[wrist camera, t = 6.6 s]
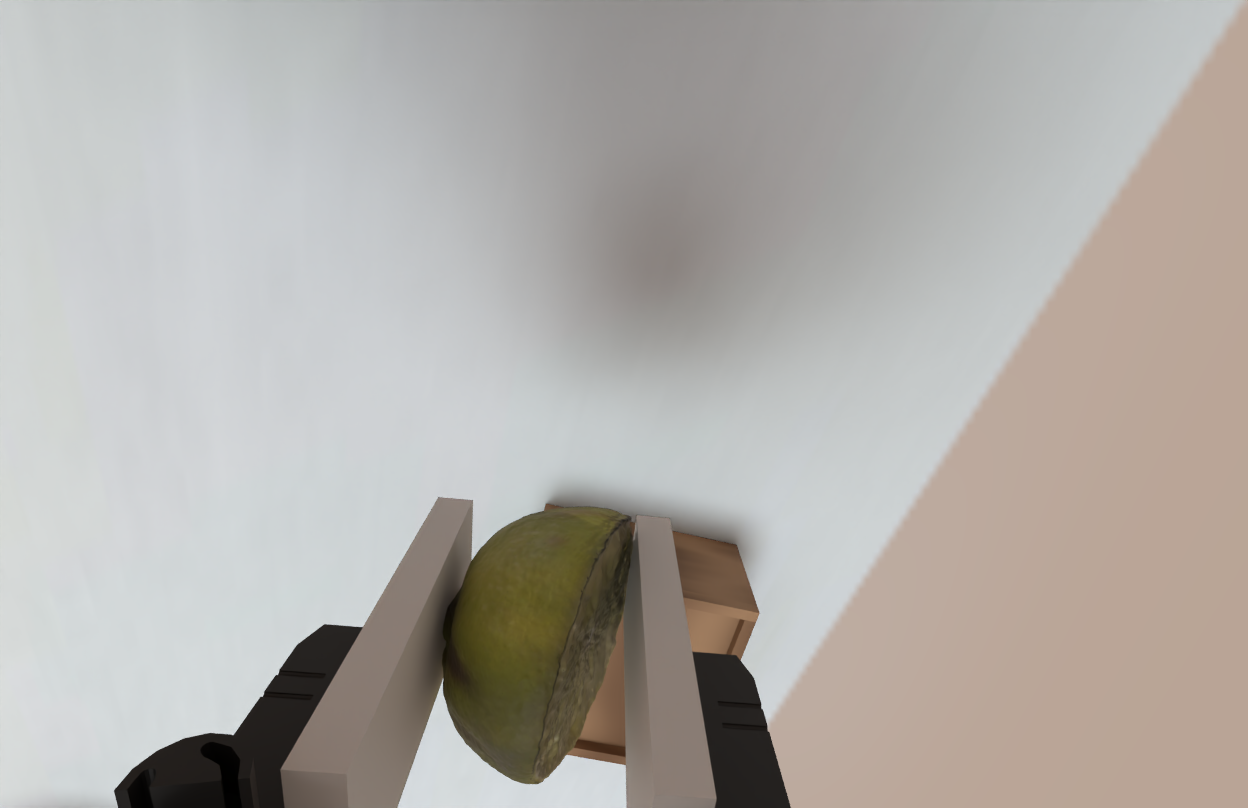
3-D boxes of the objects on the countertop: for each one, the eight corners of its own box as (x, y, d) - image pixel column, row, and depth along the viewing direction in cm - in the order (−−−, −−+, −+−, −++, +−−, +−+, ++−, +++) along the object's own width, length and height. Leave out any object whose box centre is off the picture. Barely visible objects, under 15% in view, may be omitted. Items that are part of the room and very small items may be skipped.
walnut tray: (509, 654, 33) (490, 740, 28) (546, 500, 30) (531, 566, 25) (681, 687, 34) (693, 776, 29) (735, 542, 31) (759, 613, 26)
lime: (604, 442, 13) (600, 576, 8) (691, 606, 14) (730, 802, 10) (430, 520, 14) (332, 689, 9) (530, 672, 15) (492, 887, 10)
